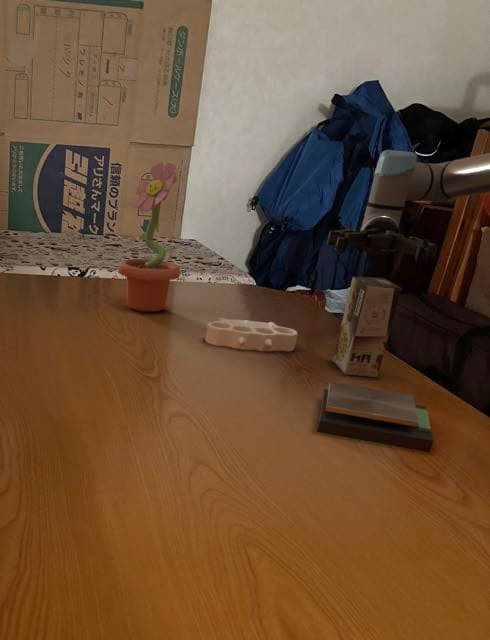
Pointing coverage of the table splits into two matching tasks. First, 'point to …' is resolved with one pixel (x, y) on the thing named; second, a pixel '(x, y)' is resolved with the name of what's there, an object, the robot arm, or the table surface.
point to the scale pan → (371, 404)
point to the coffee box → (366, 325)
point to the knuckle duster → (250, 335)
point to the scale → (378, 428)
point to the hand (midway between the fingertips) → (382, 250)
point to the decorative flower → (151, 274)
